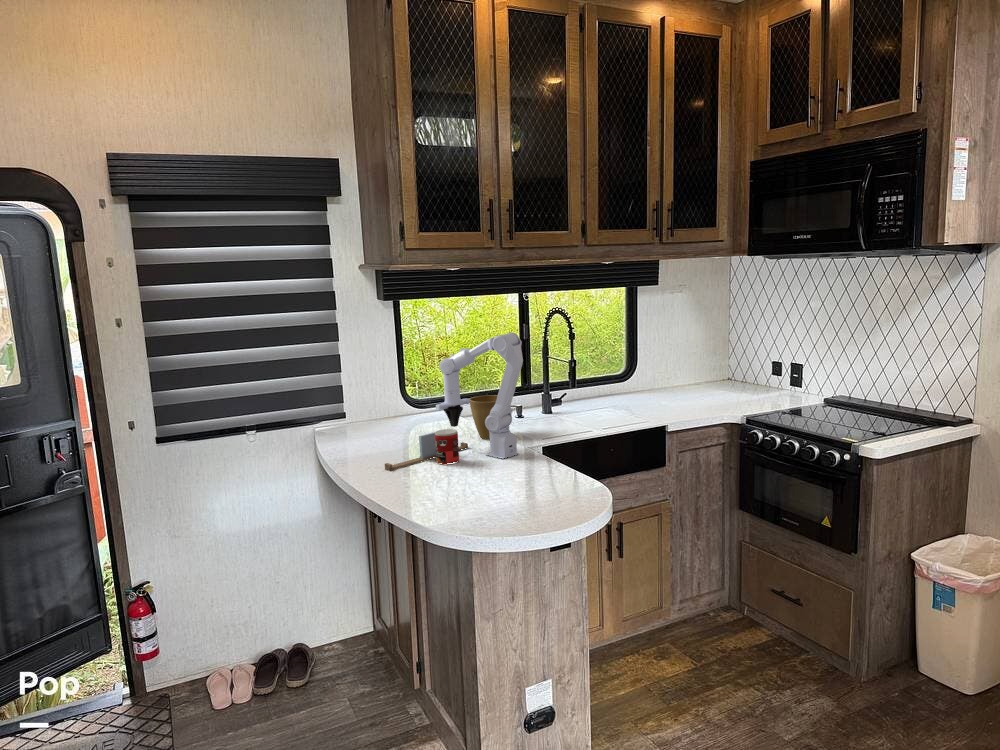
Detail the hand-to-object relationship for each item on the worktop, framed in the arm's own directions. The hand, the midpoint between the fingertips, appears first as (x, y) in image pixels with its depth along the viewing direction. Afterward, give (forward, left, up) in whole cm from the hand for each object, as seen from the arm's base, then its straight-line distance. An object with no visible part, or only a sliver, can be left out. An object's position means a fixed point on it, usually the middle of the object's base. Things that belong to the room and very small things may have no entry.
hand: (454, 426), depth 257 cm
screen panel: (0, +11, -9) cm, 14 cm away
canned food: (-10, +11, -10) cm, 18 cm away
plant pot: (+4, -21, -10) cm, 24 cm away
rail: (0, +13, -9) cm, 16 cm away
